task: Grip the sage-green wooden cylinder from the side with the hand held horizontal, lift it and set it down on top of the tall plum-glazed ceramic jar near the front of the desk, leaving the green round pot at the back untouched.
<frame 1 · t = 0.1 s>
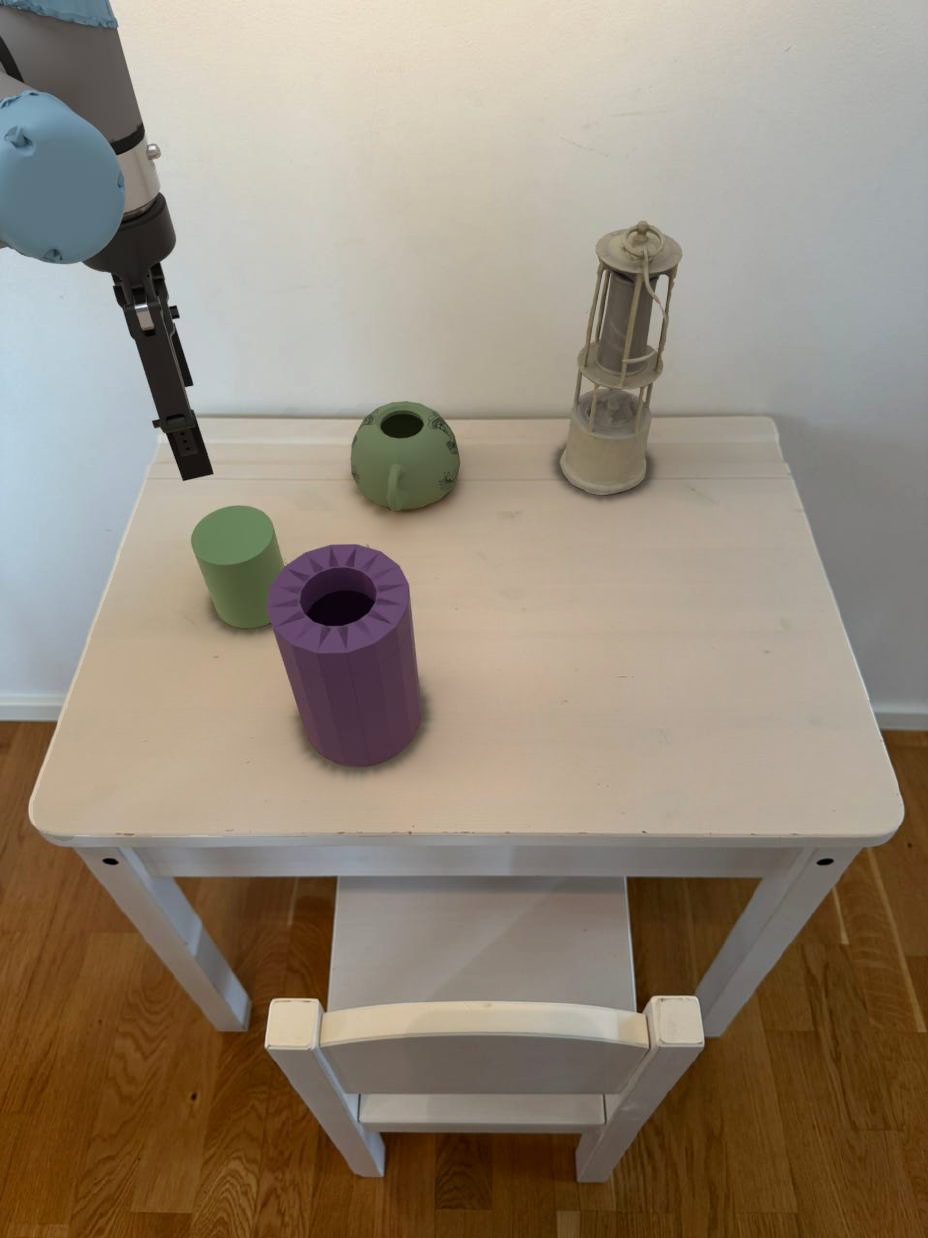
hand: (188, 428, 80), 19 cm above the table, tool pointing down, fingers open, 13 cm apart
green round pot: (405, 489, 102), on the table
jar: (362, 714, 83), on the table
lamp: (604, 474, 103), on the table
green cylinder: (253, 598, 92), on the table
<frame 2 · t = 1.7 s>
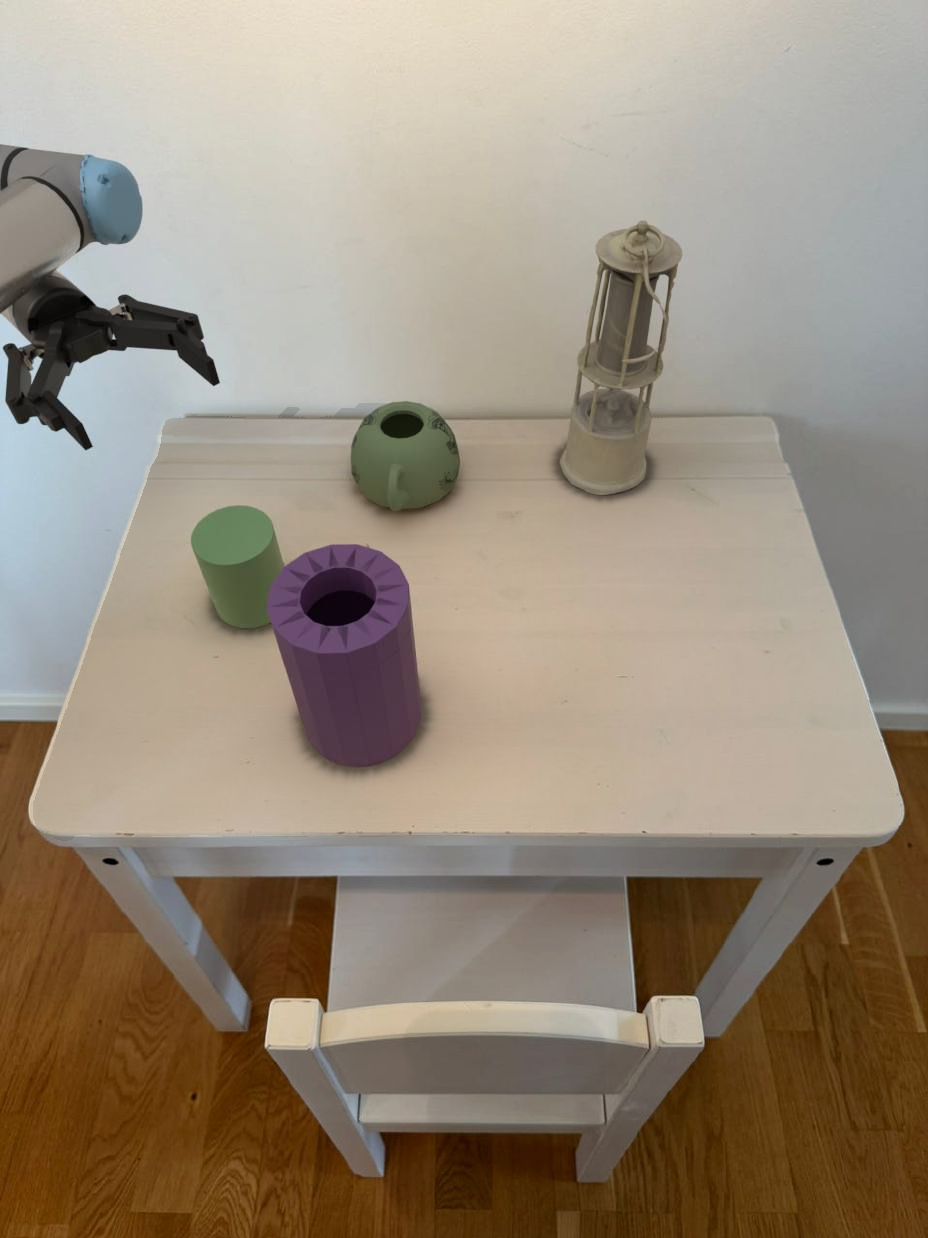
hand: (151, 404, 80), 20 cm above the table, tool horizontal, fingers open, 13 cm apart
nothing on the table moved.
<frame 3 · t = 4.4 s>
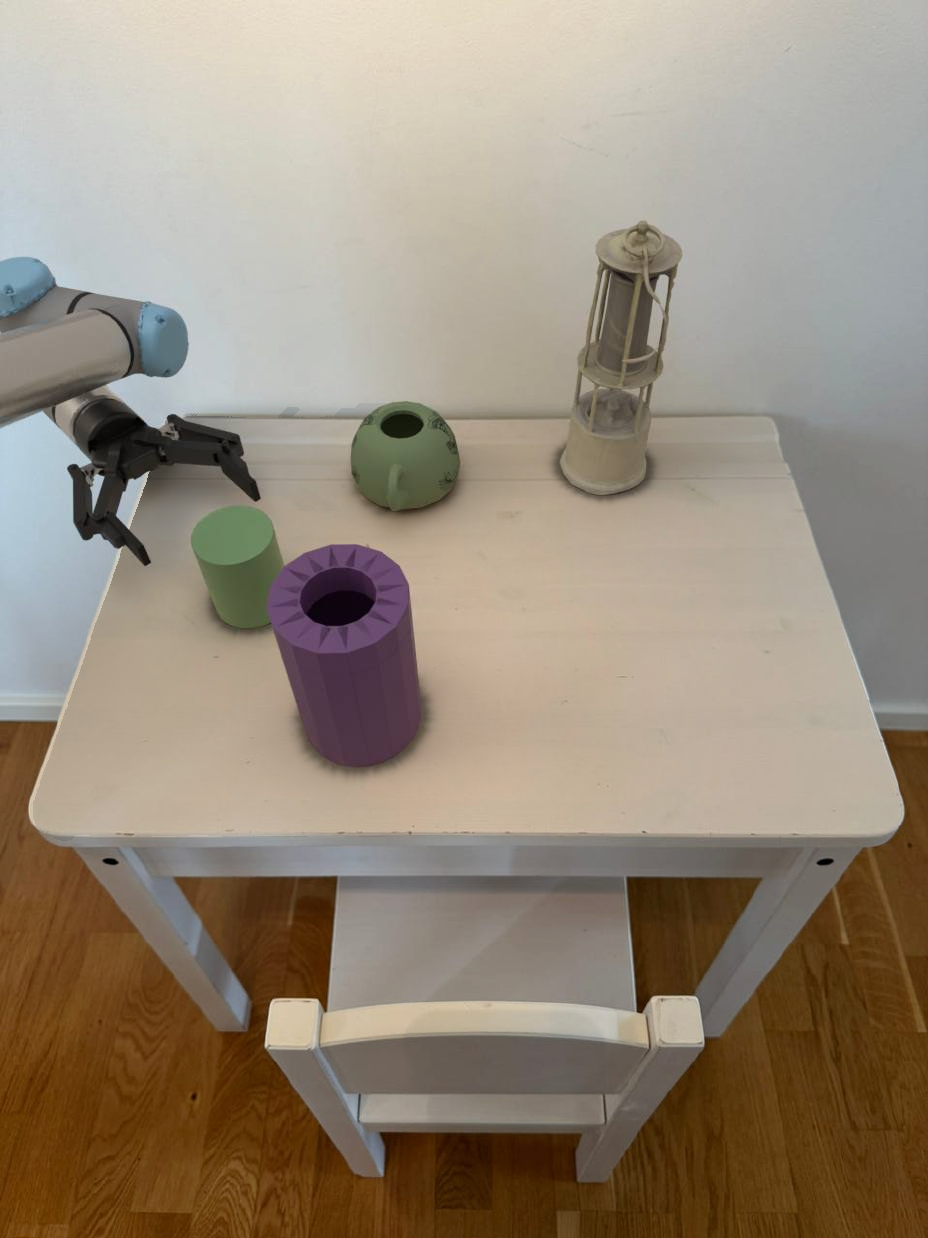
hand: (201, 522, 90), 6 cm above the table, tool horizontal, fingers open, 13 cm apart
nothing on the table moved.
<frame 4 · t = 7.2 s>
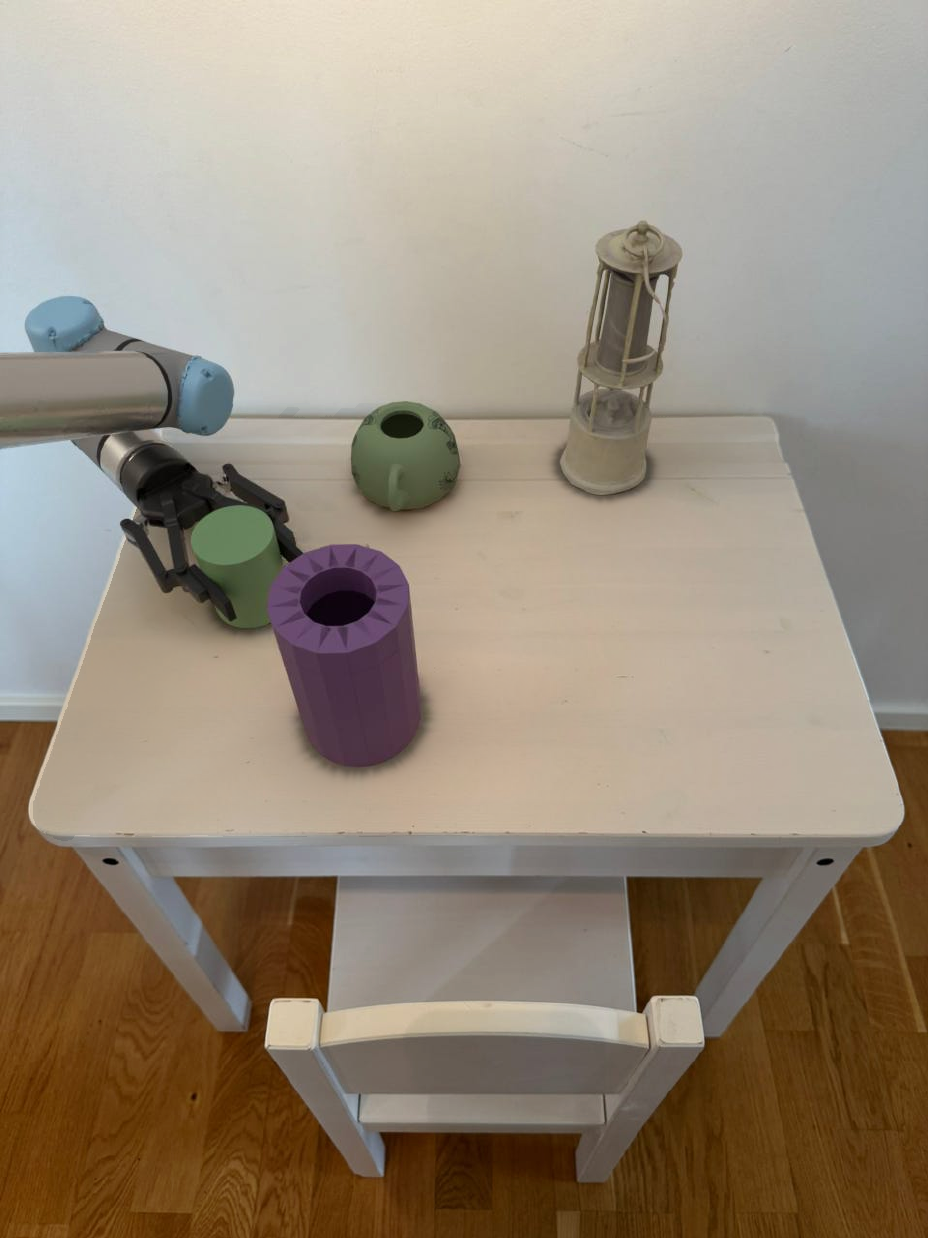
hand: (268, 587, 85), 6 cm above the table, tool horizontal, fingers closed on green cylinder, 8 cm apart
green cylinder: (253, 598, 92), on the table, touching gripper
everything else where it was.
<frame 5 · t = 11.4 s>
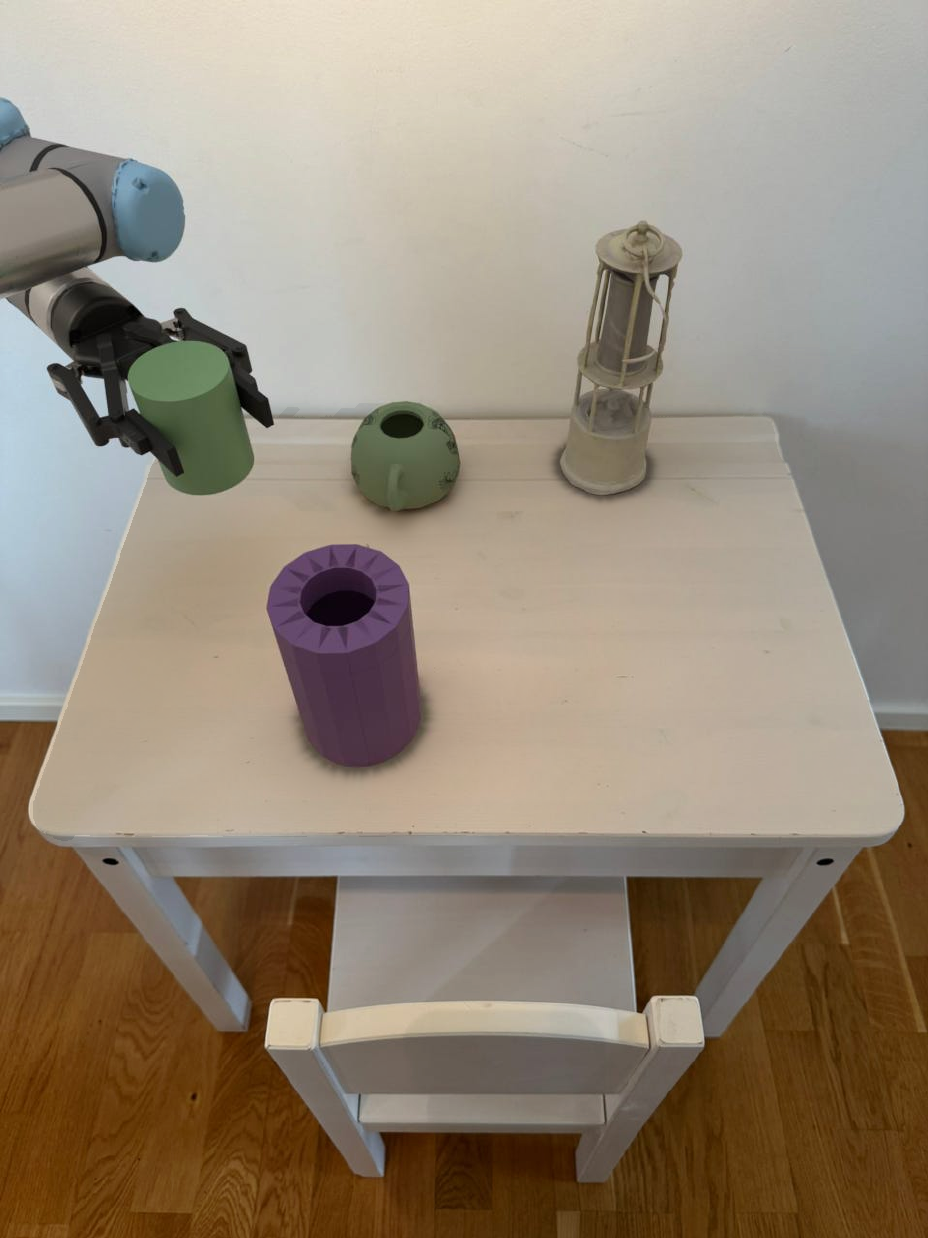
hand: (222, 436, 70), 25 cm above the table, tool horizontal, fingers closed on green cylinder, 8 cm apart
green cylinder: (209, 464, 77), point 19 cm above the table, touching gripper
everything else where it was.
when the fingers open (24 cm above the table, at t = 15.9 s): green cylinder stays where it is, resting on jar.
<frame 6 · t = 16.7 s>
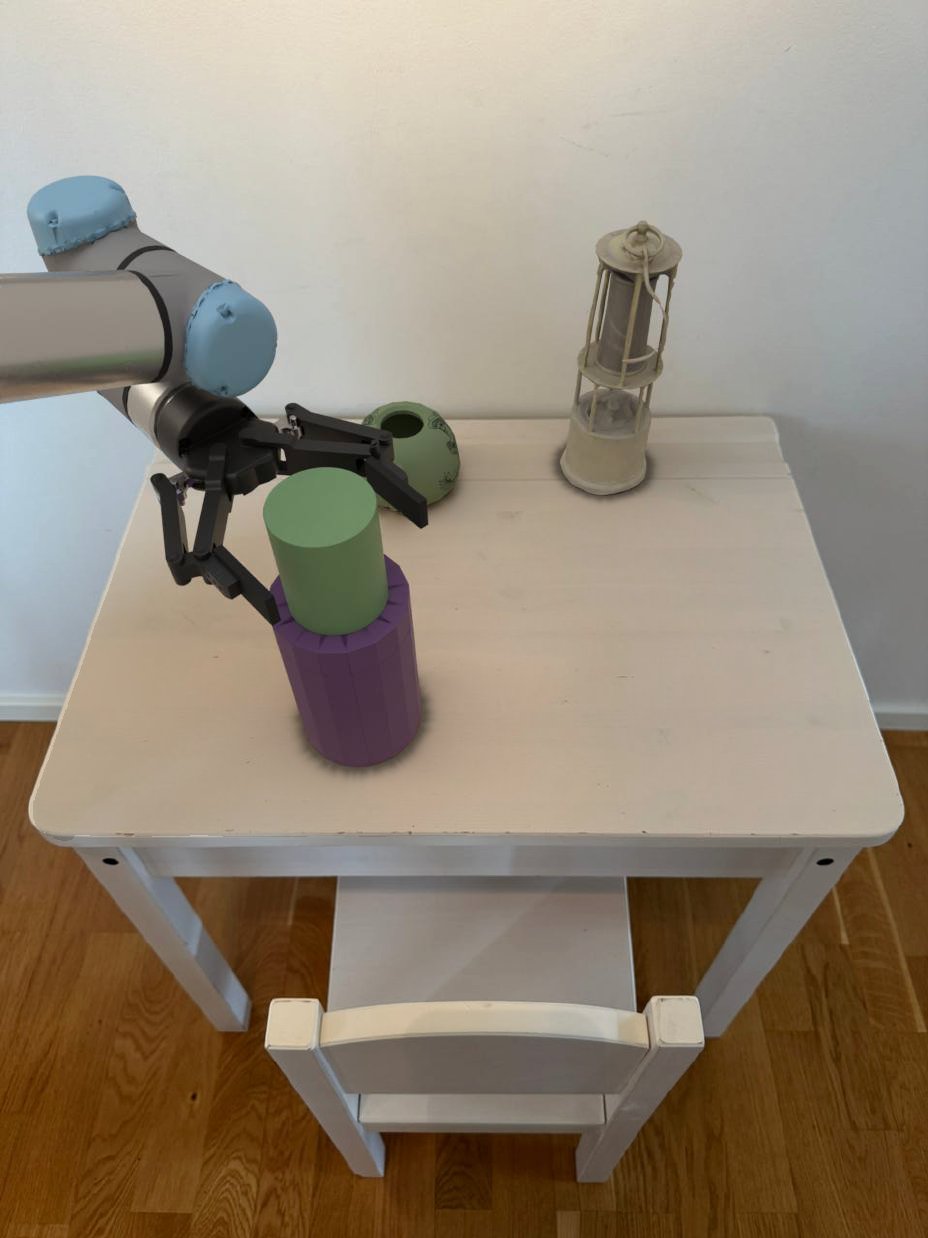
hand: (352, 561, 62), 25 cm above the table, tool horizontal, fingers open, 13 cm apart
green cylinder: (338, 595, 68), point 18 cm above the table, touching jar
everything else where it was.
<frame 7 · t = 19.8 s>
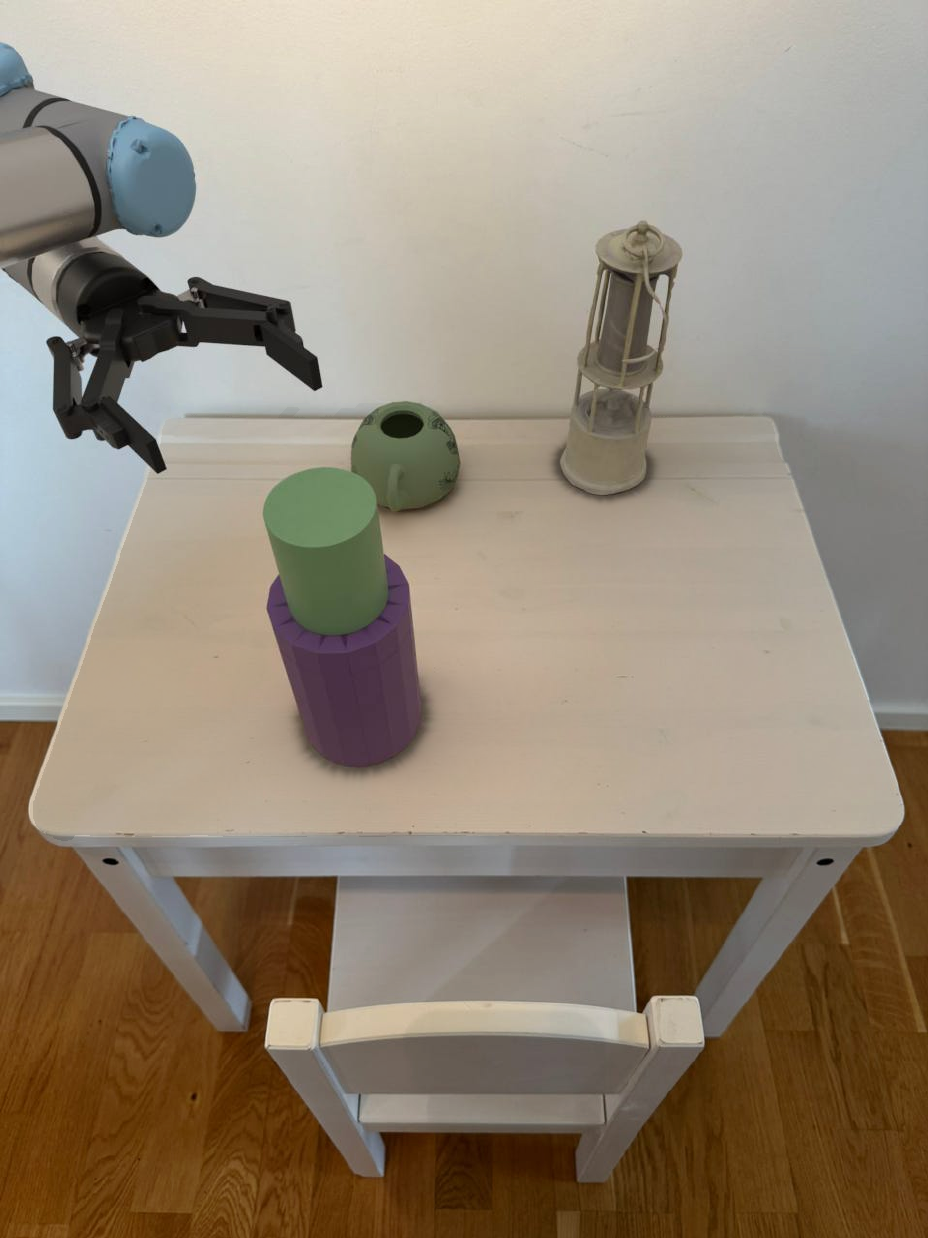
hand: (240, 414, 62), 31 cm above the table, tool horizontal, fingers open, 13 cm apart
nothing on the table moved.
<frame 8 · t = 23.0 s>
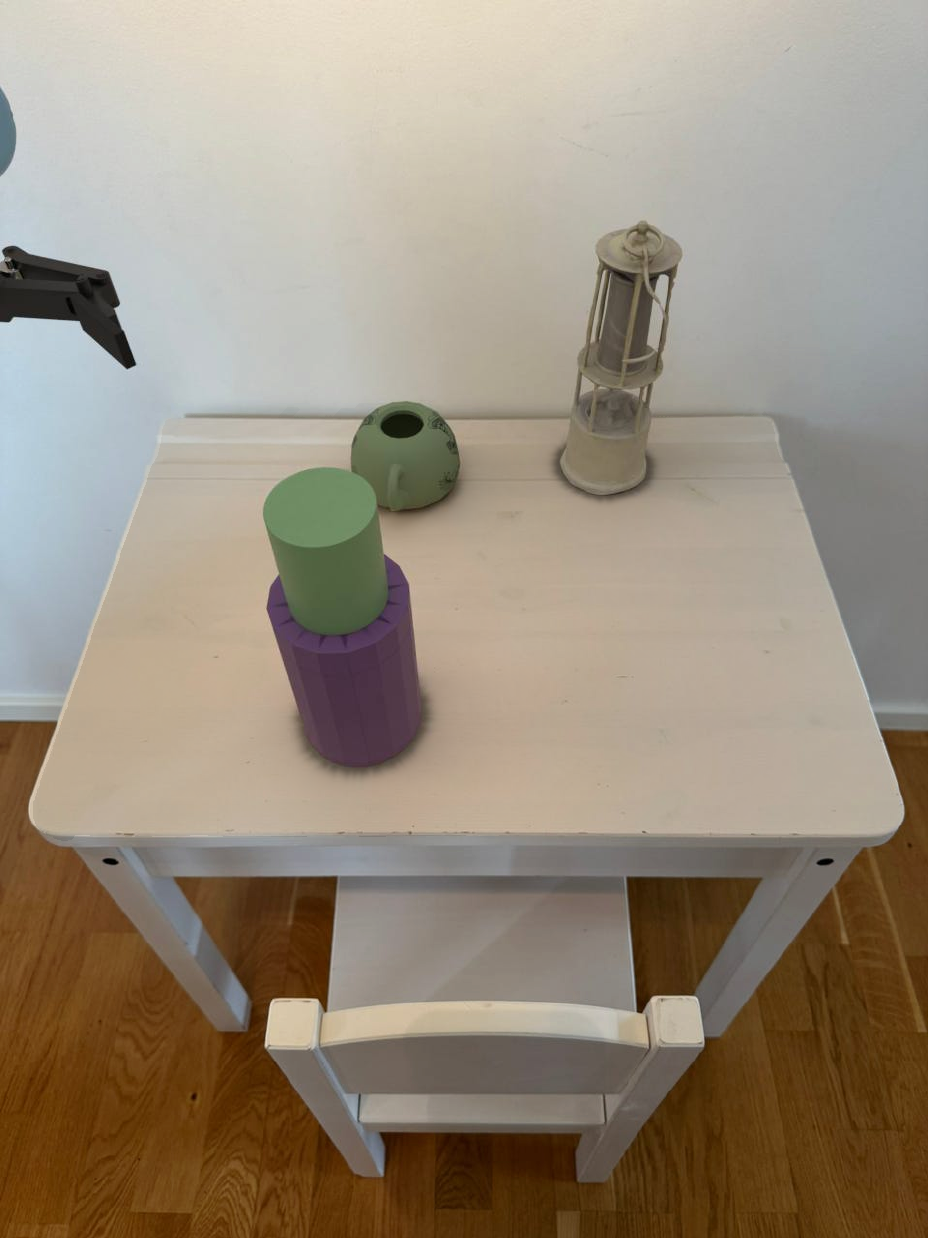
hand: (32, 393, 56), 36 cm above the table, tool horizontal, fingers open, 13 cm apart
nothing on the table moved.
at the end: green cylinder 0.0 cm off-centre on the jar, point 18.0 cm above the jar's base; green cylinder tilted 0°; green round pot moved 0.2 cm from its start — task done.
